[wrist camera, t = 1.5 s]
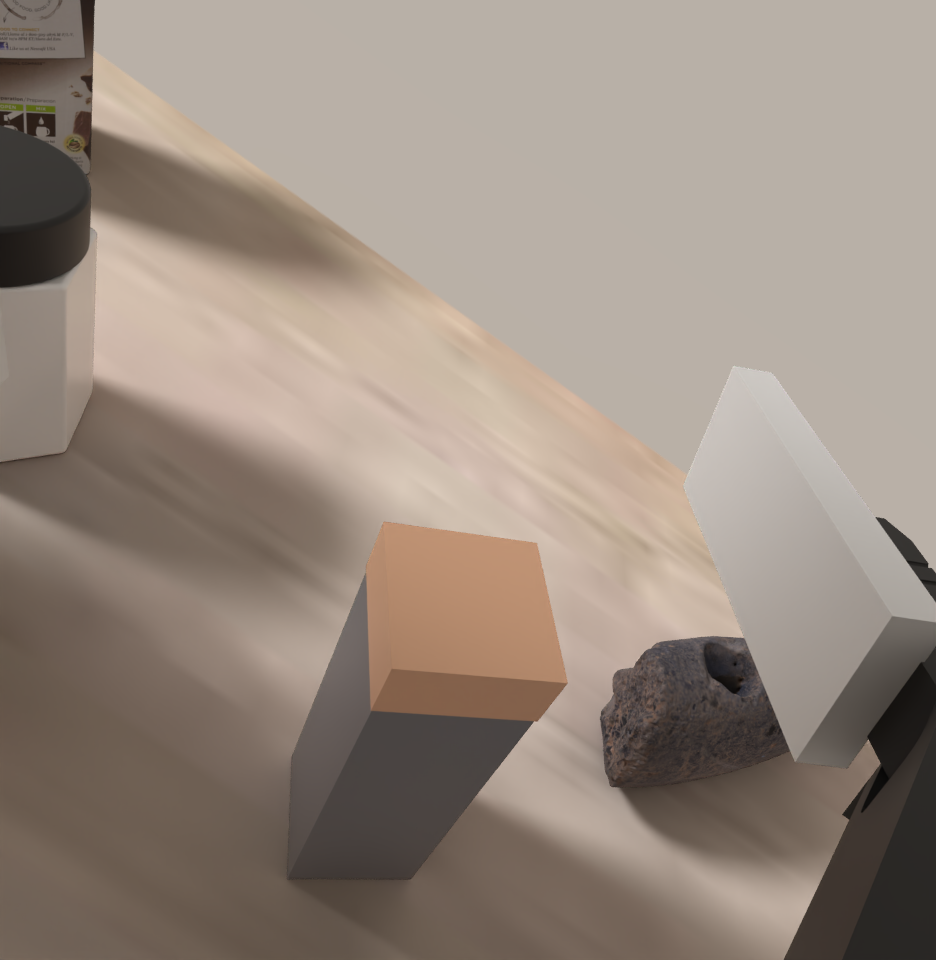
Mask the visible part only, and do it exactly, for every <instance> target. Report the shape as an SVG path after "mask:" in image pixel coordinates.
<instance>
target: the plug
mask: <svg viewBox="0 0 936 960" xmlns="http://www.w3.org/2000/svg"><path fill="white" fill-rule="evenodd" d="M567 683H568V682H567V678H566V673H565V668H564V664H563V659H562V655H561V650H560V646H559V641H558V637H557V632H556V628H555V623H554V619H553V614H552V610H551V605H550V601H549V596H548V592H547V587H546V583H545V578H544V573H543V569H542V564H541V560H540V555H539V551H538V546H537V543H533V542H526V541H519V540H511V539H504V538H497V537H490V536H483V535H476V534H468V533H461V532H454V531H447V530H440V529H432V528H425V527H418V526H411V525H404V524H397V523H389V522H383V525H382V527H381V530H380V533H379V535H378V538H377V540H376V543H375V545H374V548H373V550H372V553H371V555H370V558H369V560H368V563H367V565H366V573H365V576H364V578H363V581H362V583H361V586H360V588H359V591H358V593H357V596H356V598H355V601H354V603H353V606H352V608H351V611H350V613H349V616H348V618H347V621H346V623H345V626H344V628H343V631H342V633H341V636H340V638H339V641H338V643H337V645H336V648H335V650H334V653H333V655H332V658H331V660H330V663H329V665H328V668H327V670H326V673H325V675H324V678H323V680H322V683H321V685H320V688H319V690H318V693H317V695H316V698H315V700H314V703H313V705H312V708H311V710H310V713H309V715H308V718H307V720H306V723H305V725H304V727H303V730H302V732H301V735H300V737H299V740H298V742H297V745H296V747H295V750H294V752H293V755H292V764H291V789H290V814H289V839H288V865H287V879H411V878H412V877H413V875H414V874H415V873H416V872H417V870H418V869H419V868H420V867H421V865H422V864H423V863H424V861H425V860H426V859H427V858H428V856H429V855H430V854H431V853H432V851H433V850H434V849H435V847H436V846H437V845H438V844H439V842H440V841H441V840H442V838H443V837H444V836H445V835H446V833H447V832H448V831H449V830H450V828H451V827H452V826H453V824H454V823H455V822H456V821H457V819H458V818H459V817H460V815H461V814H462V813H463V812H464V810H465V809H466V808H467V807H468V805H469V804H470V803H471V801H472V800H473V799H474V798H475V796H476V795H477V794H478V792H479V791H480V790H481V789H482V787H483V786H484V785H485V784H486V782H487V781H488V780H489V778H490V777H491V776H492V775H493V773H494V772H495V771H496V769H497V768H498V767H499V766H500V764H501V763H502V762H503V761H504V759H505V758H506V757H507V755H508V754H509V753H510V752H511V750H512V749H513V748H514V746H515V745H516V744H517V743H518V741H519V740H520V739H521V738H522V736H523V735H524V734H525V732H526V731H527V730H528V729H529V727H530V726H531V725H532V724H533V722H534V721H537V722H538V720H539V719H540V718H541V716H542V715H543V714H544V713H545V711H546V710H547V709H548V708H549V706H550V705H551V704H552V702H553V701H554V700H555V699H556V697H557V696H558V695H559V694H560V692H561V691H562V690H563V689H564V687H565V686H566V685H567Z"/></svg>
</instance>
